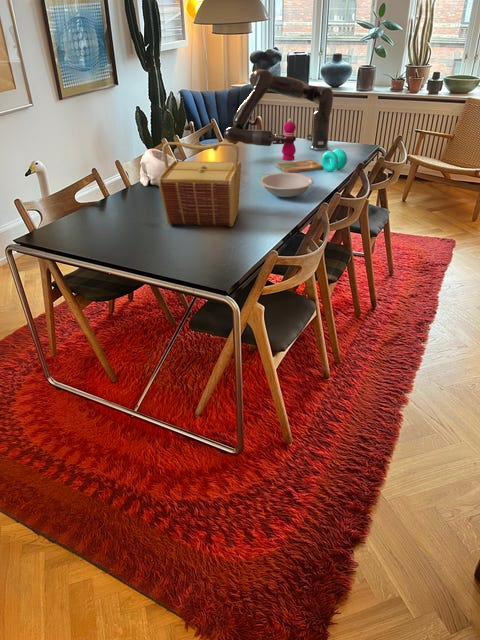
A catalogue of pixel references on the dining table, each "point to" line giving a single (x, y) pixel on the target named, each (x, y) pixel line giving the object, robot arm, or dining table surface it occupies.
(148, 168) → the skull planter
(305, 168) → the oak board
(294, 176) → the soup bowl
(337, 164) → the turquoise spool
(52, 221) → the dining table surface
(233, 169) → the picnic basket
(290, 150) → the pepper mill
